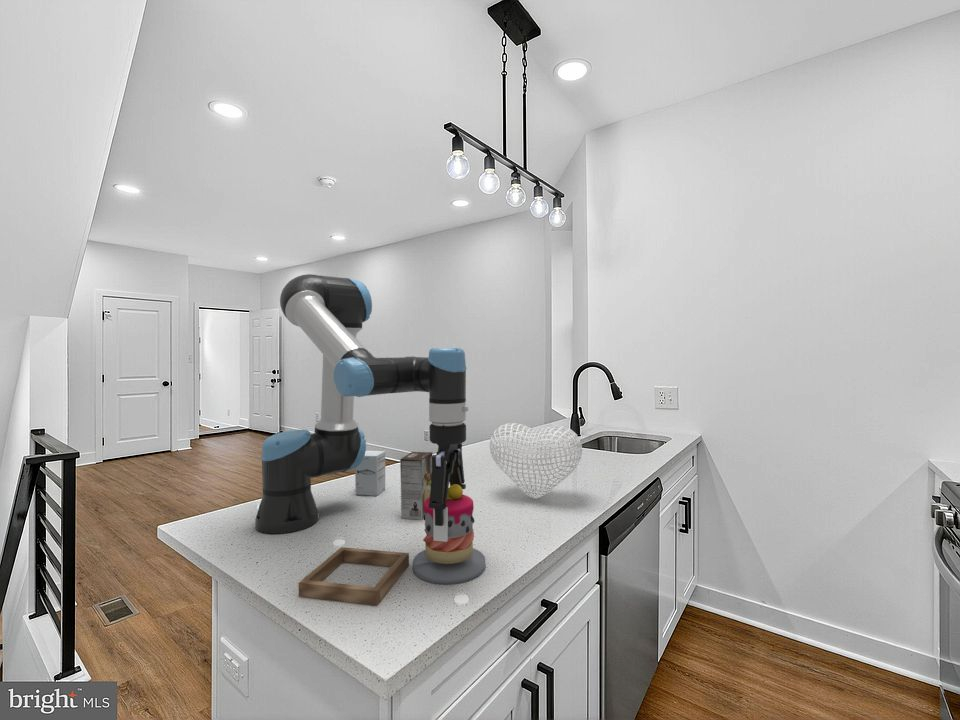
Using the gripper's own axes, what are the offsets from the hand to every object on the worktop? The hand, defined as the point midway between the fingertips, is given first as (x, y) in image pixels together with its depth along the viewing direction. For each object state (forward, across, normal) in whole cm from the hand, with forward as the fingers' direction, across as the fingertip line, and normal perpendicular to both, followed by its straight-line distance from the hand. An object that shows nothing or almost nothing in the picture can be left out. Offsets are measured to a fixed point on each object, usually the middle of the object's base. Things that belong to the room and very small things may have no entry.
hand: (448, 529), depth 95 cm
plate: (+8, 0, 0) cm, 8 cm away
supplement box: (+8, +43, +38) cm, 58 cm away
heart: (+8, +47, -13) cm, 49 cm away
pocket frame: (+8, -9, +16) cm, 20 cm away
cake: (+5, 0, 0) cm, 5 cm away
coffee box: (+8, +28, +17) cm, 34 cm away
